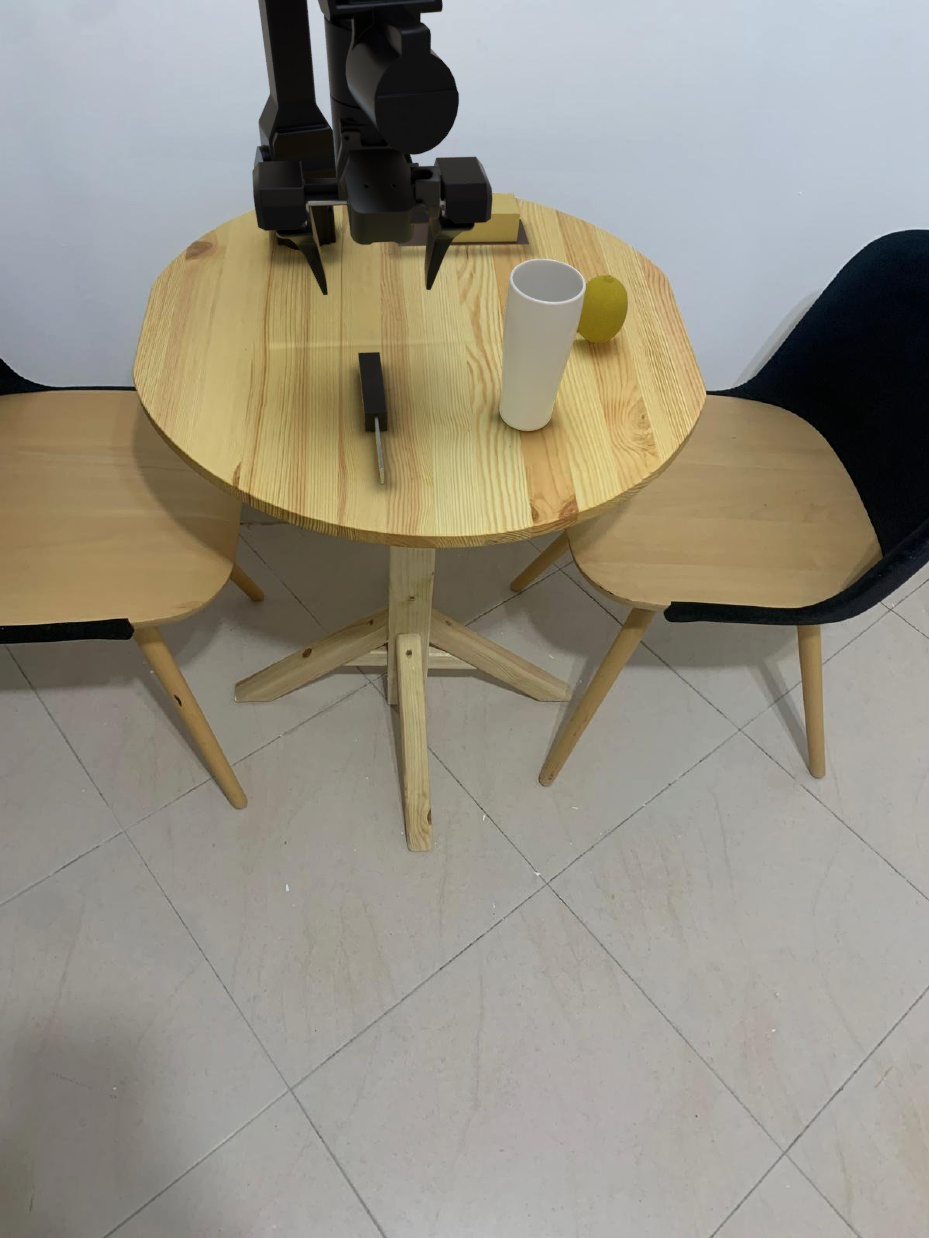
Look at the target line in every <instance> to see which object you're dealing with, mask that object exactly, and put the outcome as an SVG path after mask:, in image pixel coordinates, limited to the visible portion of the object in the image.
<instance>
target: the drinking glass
mask: <svg viewBox="0 0 929 1238" xmlns="http://www.w3.org/2000/svg"><path fill="white" fill-rule="evenodd" d="M508 278H509V279H508V283H507V288H506V295H505V301H504V310H503V321H502V322H503V323H502V353H501V384H500V399H499V407H498V410H499V415H500V417H501V419H502V421H504V423H505V424H506V425H508V426H509V427H511V428H513V429H515V430H518V431H523V432H532V431H537V430H540V429H542V428H544V427H545V426H546V425H548V423H549V422H550V421H551V418H552V416H553V411H554V406H555V402H556V399H557V396H558V392H559V389H560V386H561V383H562V380H563V377H564V373H565V370H566V367H567V364H568V361H569V358H570V354H571V353H572V349H573V346H574V342H575V339H576V336H577V332H578V330H577V329H578V325H579V321H580V317H581V312H582V307H583V302H584V295H585V290H586V283H587V282H586V280H585V278H584V276H583V275H582V273H581V272H580V271H579V270H577V269H576V268H575V267H573V265H570V264H568V263H566V262H563V261H561V260H557V259H550V258H533V259H528V260H525V261H522V262H520V263H519V264H517V265H516V266H514V267H513V268H512V270H511V271H510V273H509V277H508Z"/></svg>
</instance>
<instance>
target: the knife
mask: <svg viewBox="0 0 929 1238" xmlns="http://www.w3.org/2000/svg"><path fill="white" fill-rule="evenodd" d="M357 355H358V356H357V357H358V359H357V360H358V373H359V383H360V395H361V404H362V414H363V422H364V423H363V424H364V432H366V433H368V432H374V434H375V436H374V437H375V443H376V452H377V454H376V455H377V461H378V462H377V463H378V472H379V480H380V484H381V485H383V484H385V468H384V467H385V466H384V459H383V451H382V443H381V433H380V432H387V431H388V428H389V426H388V425H389V423H388V421H389V420H388V408H387V406H388V405H387V399H386V391H385V383H384V382H385V381H384V374H383V366H382V359H381V358H382V357H381V352H380V351H372V352H371V351H370V352H369V351H368V352H358V353H357Z"/></svg>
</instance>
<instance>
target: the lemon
mask: <svg viewBox="0 0 929 1238" xmlns="http://www.w3.org/2000/svg"><path fill="white" fill-rule="evenodd" d="M585 283H586V290H585V295H584V302H583V307H582V312H581V317H580V321H579V325H578V329H577V332H578V333H579V335H580V336H581V337H582V338H583V339H584V340H586V341H588V342H590V343H591V344H599V343H605V342H608V341H610V340H612V339H614V338H615V337H616V336H617V335H618V334H619V333H620V331H621V329H622V328H623V327H624V324H625V321H626V319H627V316H628V315H627V314H628V307H629V299H628V297H629V296H628V292H627V290H626V287H625V285H624V284H623V283H622V281H620V280H619V279H618V278H617V277H614V276H612V275H611V274H602V275H598V276H595V277H593V278H592V279H590V280H588V281H587V282H585Z"/></svg>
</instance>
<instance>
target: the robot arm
mask: <svg viewBox="0 0 929 1238" xmlns="http://www.w3.org/2000/svg"><path fill="white" fill-rule="evenodd" d="M257 1H258V10H259V18H260V26H261V33H262V41H263V49H264V55H265V63H266V73H267V79H268V87H269V95H268V97H267V100H266V102H265V104H264V106H263V108H262V111H261V114H260V116H259V119H258V132H259V141H260V145H257V146H256V148H255V149H256V150H255V155H254V156H255V157H254V162H253V169H252V171H251V172H252V194H253V195H252V196H253V203H254V211H255V216H256V223H257V228H258V229H261V230H262V231H264V232H266V231H267V232H270V231H271V232H273V231H275V238H276V245H277V246H284V247H287V248H289V249H291V250H295V251H300V252H301V254H302V255H303V256H304V258H305V260H306V262H307V264H308V266H309V268H310V271H311V272H312V274H313V277H314V279H315V281H316V283H317V285H318V287H319V289H320V291H321V294H322V296H328V295H329V291H328V282H327V274H326V273H327V272H326V268H325V264H324V259H323V255H322V250H321V247H324V246H327V245H331V244H336V243H337V236H336V221H335V219H336V218H335V208H334V206H337V207H339V206H346V209H347V217H348V225H349V234H350V237H351V240H352V241H353V242H354V243H356V244H359V245H361V246H369V245H372V244H374V243H375V244H376V243H395V244H396V245H398V244H401V243H407V242H409V241H410V240H411V239H412V238H413V235H414V225H421V224H428V227H427V239H426V246H425V251H424V252H425V253H424V265H423V266H424V268H423V269H424V270H423V271H424V273H423V274H424V287H425V290H426V291H431V290H432V288H433V286H434V283H435V280H436V279H437V276H438V273H439V271H440V268H441V266H442V264H443V261H444V259H445V256H446V254H447V252H448V250H449V248H450V247H451V246H450V245H451V243H452V241H453V239H454V238H455V237H456V236H458V235H459V234H460V233H462V232H465V231H471V230H472V229H473V228H474V226H475V223H486V222H487V221H489V220H490V219H491V211H492V193H493V188H492V184H491V182H490V180H489V177H488V175H487V173H486V170H485V167H484V165H483V163H482V162H481V161H480V159H478V157H477V156H449V157H448V156H447V157H446V156H445V157H435V160H434V164H433V165H420V163H419V162H413V159H412V155H414V156H417V155H422V154H424V153H428V152H429V151H432V150H433V149H435V148H436V147H438V146H439V145H440V144H441V143H442V142H443V141H444V140H445V139H446V137H448V135H449V134H450V132H451V131H452V129H453V127H454V124H455V122H456V120H457V119H456V118H457V116H458V111H459V105H460V92H459V91H458V87H457V83H456V78H455V76H454V75H453V73H452V70H451V68H450V67H449V66H448V65H447V64H446V62H445V61H443V59H442V58H441V57H440V56H439V55H438V54H437V53H436V52H435V51H434V50H433V49H432V32H431V29H430V28H429V27H428V25H426V24H425V23H424V22H422V21H421V20H422V17H421V16H422V15H423V14H431V13H432V14H434V13H442V12H443V7H444V5H443V0H317V2H318V7H319V10H320V12H321V13H322V14H323V22H324V23H323V24H324V25H323V26H324V36H325V38H324V39H325V49H326V61H327V62H326V64H327V75H328V76H327V77H328V87H329V89H328V90H329V101H330V112H331V113H330V115H331V125H330V123H329V122H328V120H327V119H326V117H325V115H324V114H323V112H322V111H321V109H320V107H319V106H318V103H317V98H316V86H315V74H314V64H313V63H314V62H313V53H312V51H313V50H312V41H311V28H310V18H309V6H308V5H309V4H308V0H257Z"/></svg>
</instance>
